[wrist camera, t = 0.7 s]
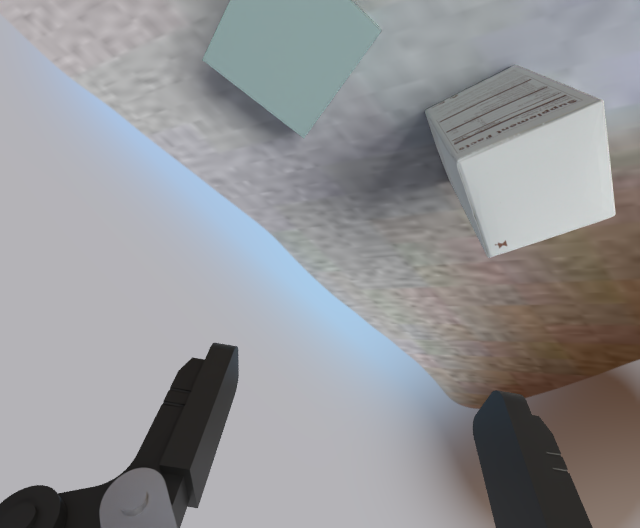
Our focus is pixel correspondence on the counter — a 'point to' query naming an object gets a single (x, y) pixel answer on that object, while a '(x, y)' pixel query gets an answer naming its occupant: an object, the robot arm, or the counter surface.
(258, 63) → the pedestal block
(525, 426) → the robot arm
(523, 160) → the supplement box
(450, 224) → the counter surface
